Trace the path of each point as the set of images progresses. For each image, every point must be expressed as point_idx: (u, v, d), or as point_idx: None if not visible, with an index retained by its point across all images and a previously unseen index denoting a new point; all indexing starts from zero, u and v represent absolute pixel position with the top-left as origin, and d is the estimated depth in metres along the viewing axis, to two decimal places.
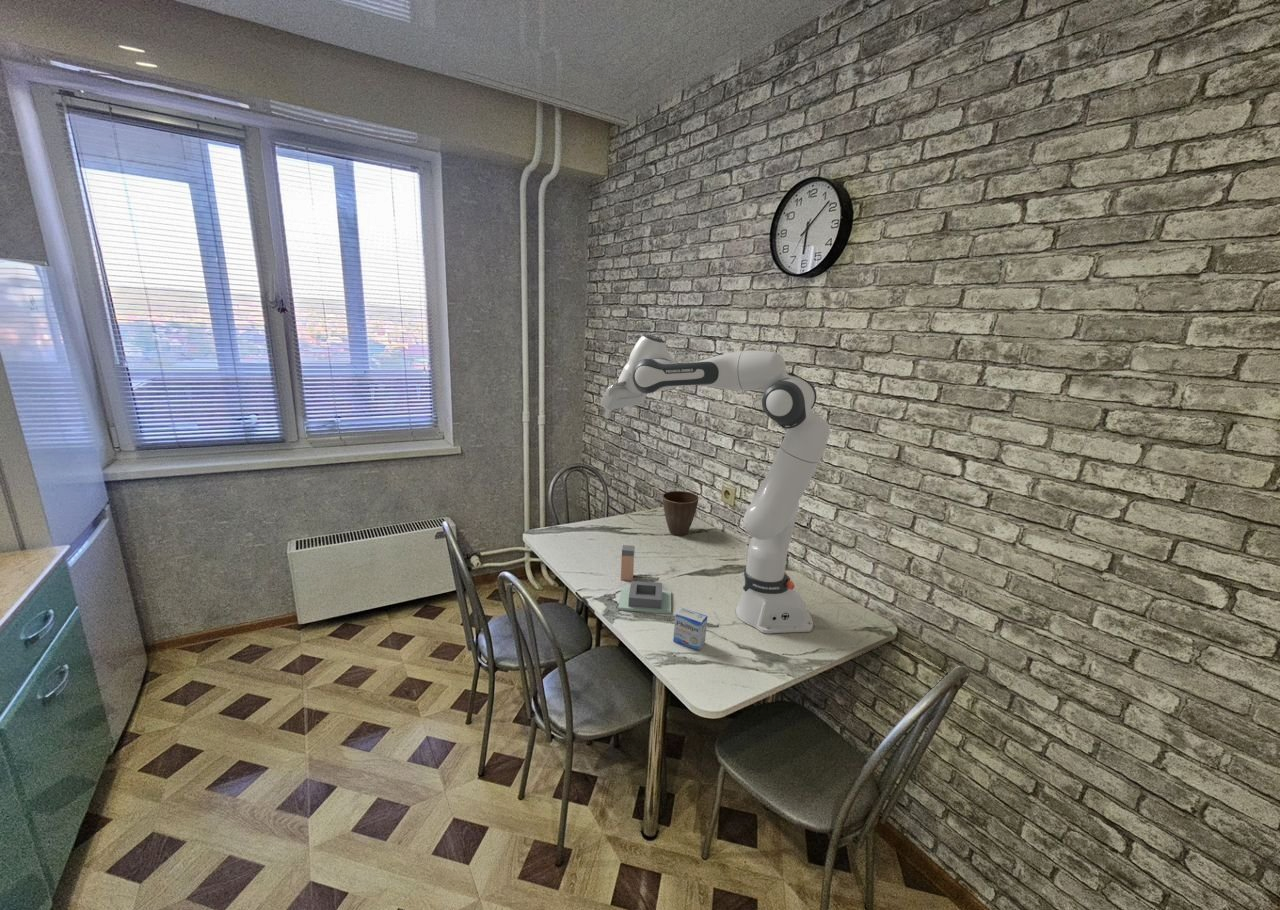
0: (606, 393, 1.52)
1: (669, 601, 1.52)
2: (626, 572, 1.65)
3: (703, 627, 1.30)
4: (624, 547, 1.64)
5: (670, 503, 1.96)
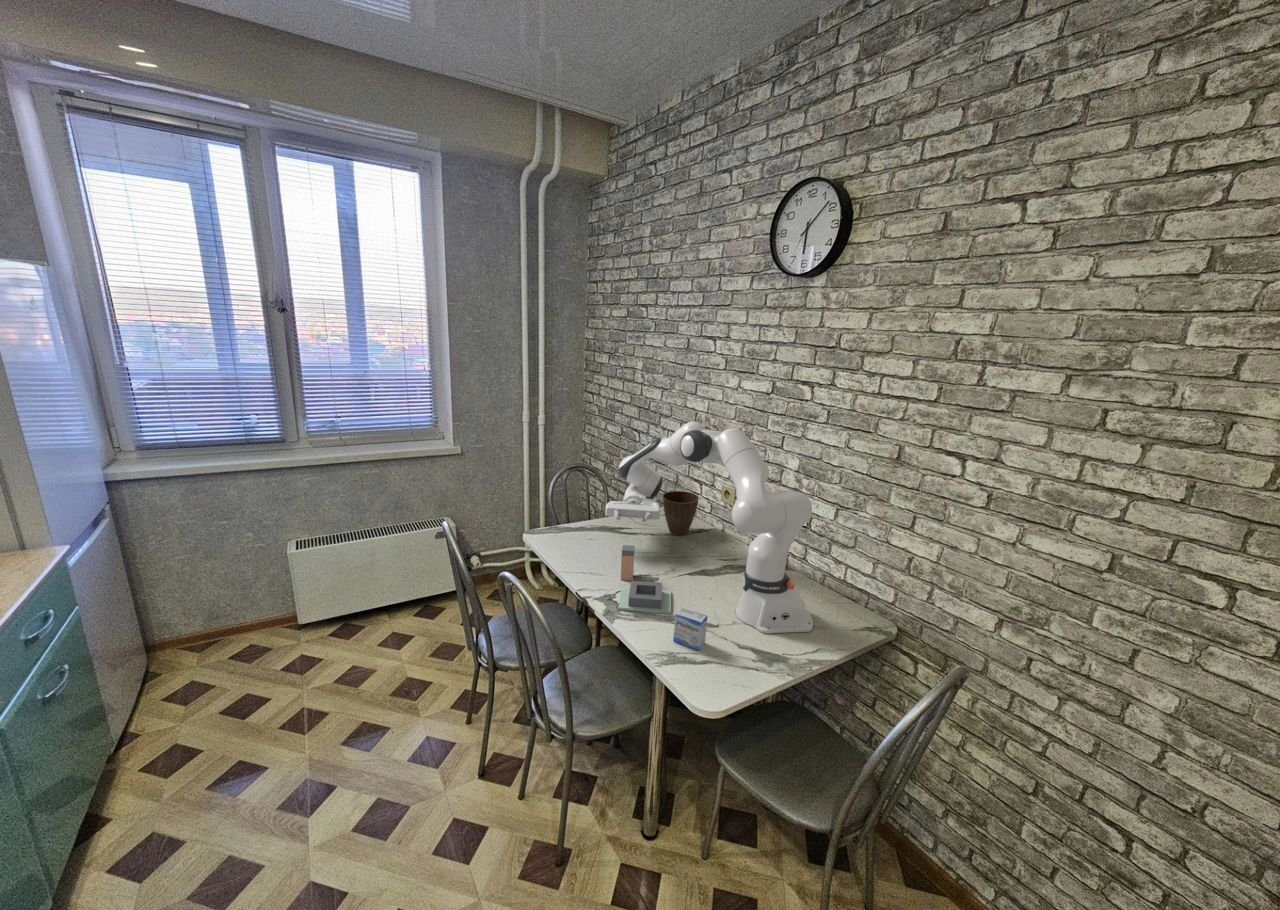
0: None
1: (669, 601, 1.52)
2: (626, 572, 1.65)
3: (703, 627, 1.30)
4: (624, 547, 1.64)
5: (670, 503, 1.96)
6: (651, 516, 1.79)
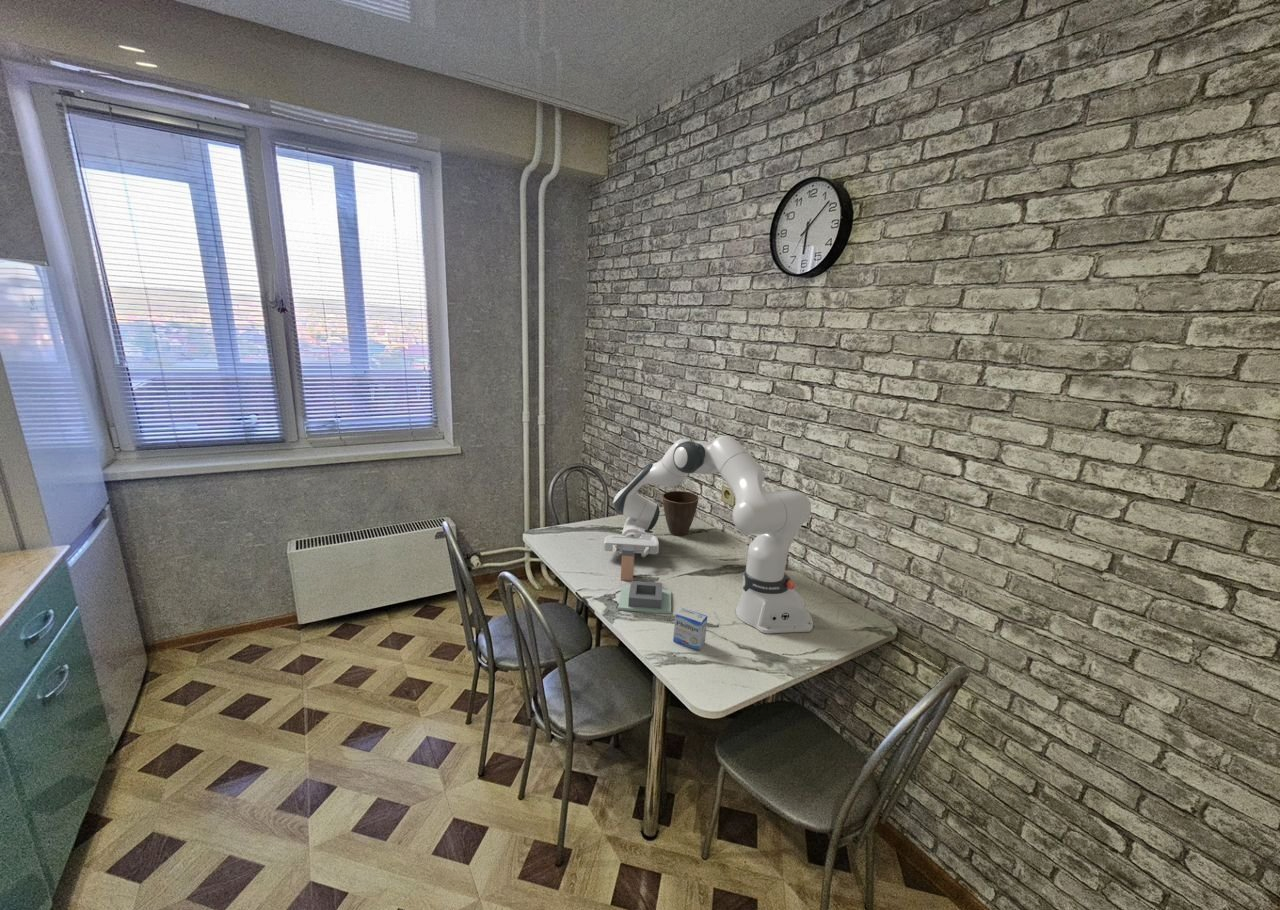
0: None
1: (669, 601, 1.52)
2: (626, 572, 1.65)
3: (703, 627, 1.30)
4: (624, 547, 1.64)
5: (670, 503, 1.96)
6: (650, 551, 1.76)
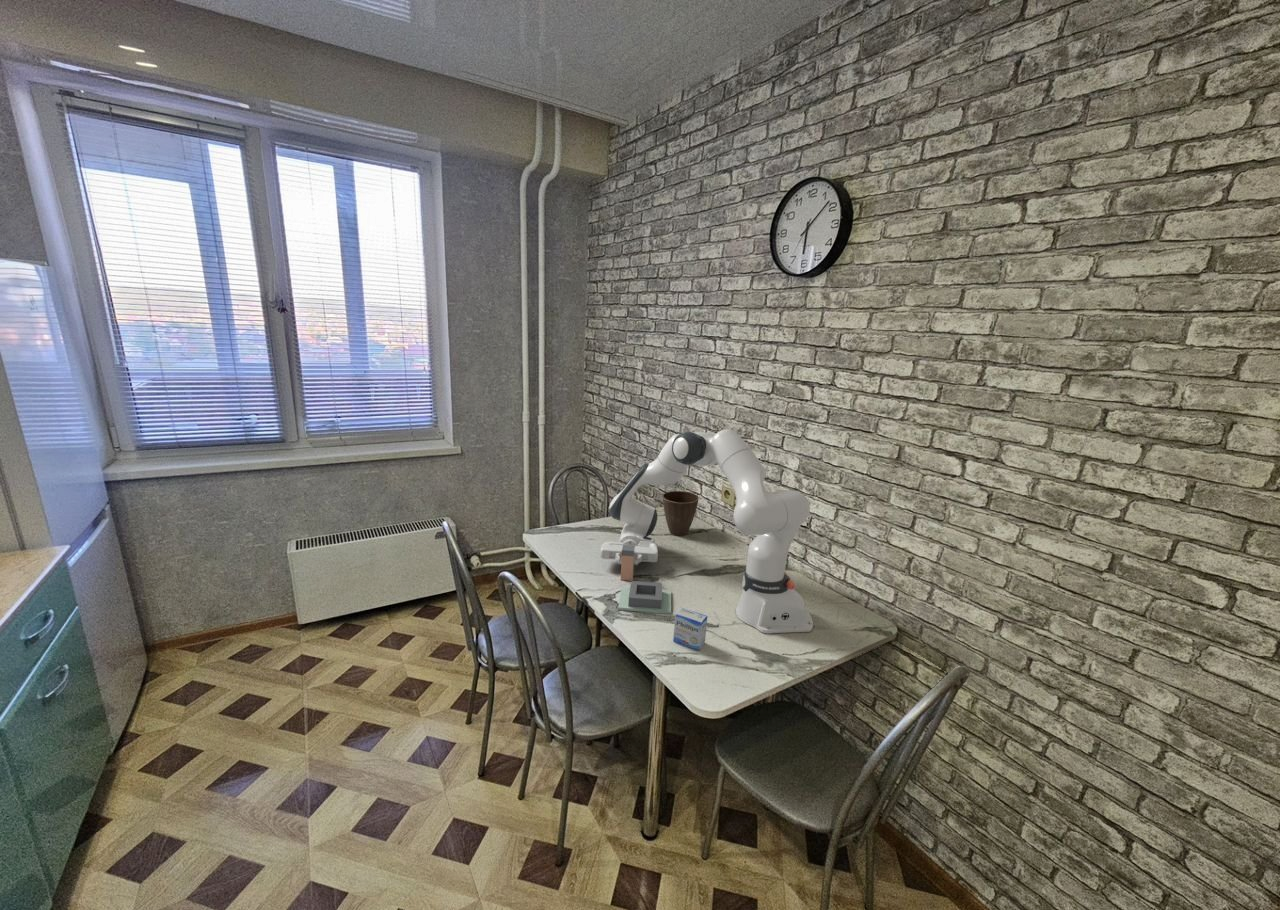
0: None
1: (669, 601, 1.52)
2: (626, 572, 1.65)
3: (703, 627, 1.30)
4: (624, 547, 1.64)
5: (670, 503, 1.96)
6: (649, 559, 1.69)
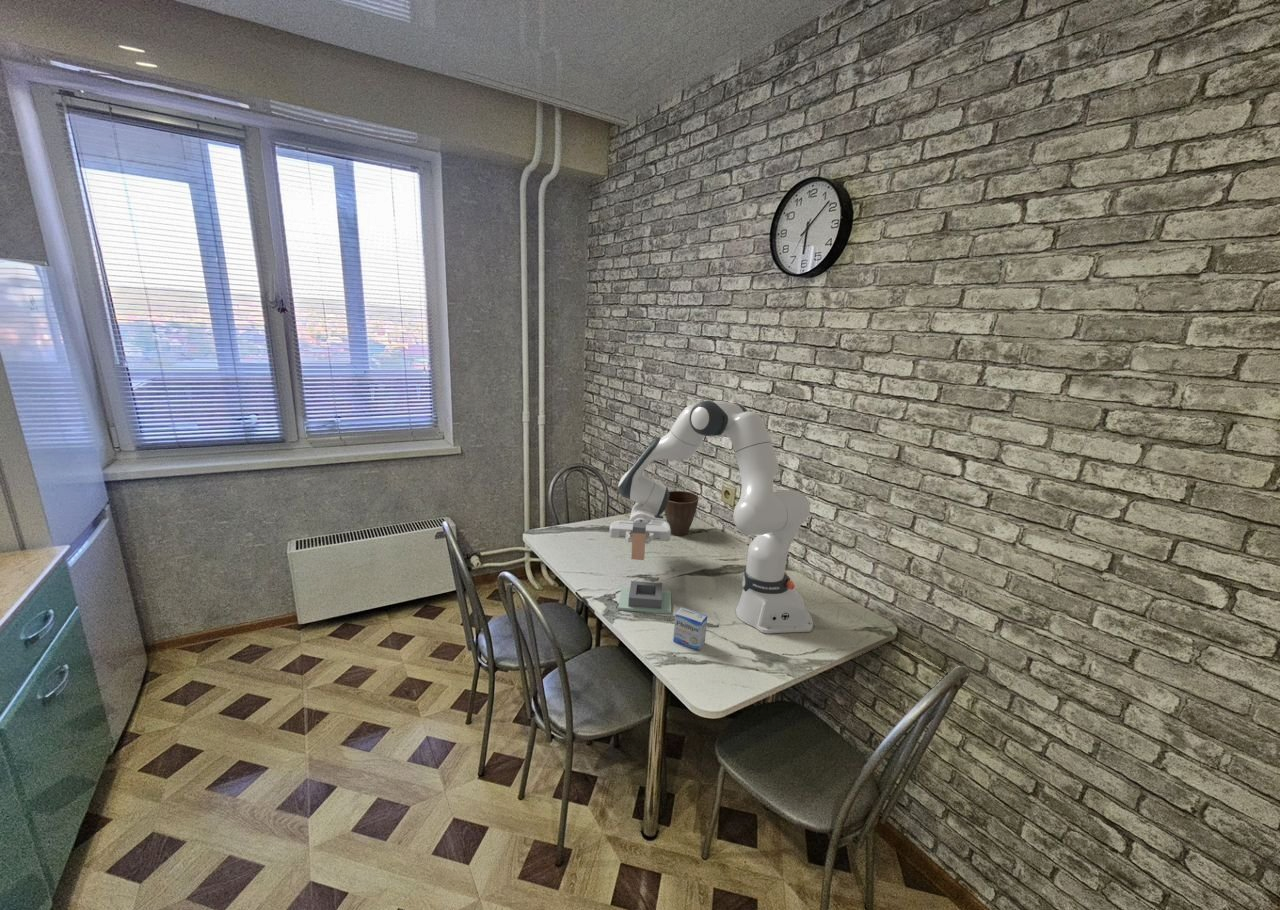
0: None
1: (669, 601, 1.52)
2: (637, 551, 1.55)
3: (703, 627, 1.30)
4: (635, 525, 1.54)
5: (670, 503, 1.96)
6: (661, 537, 1.59)
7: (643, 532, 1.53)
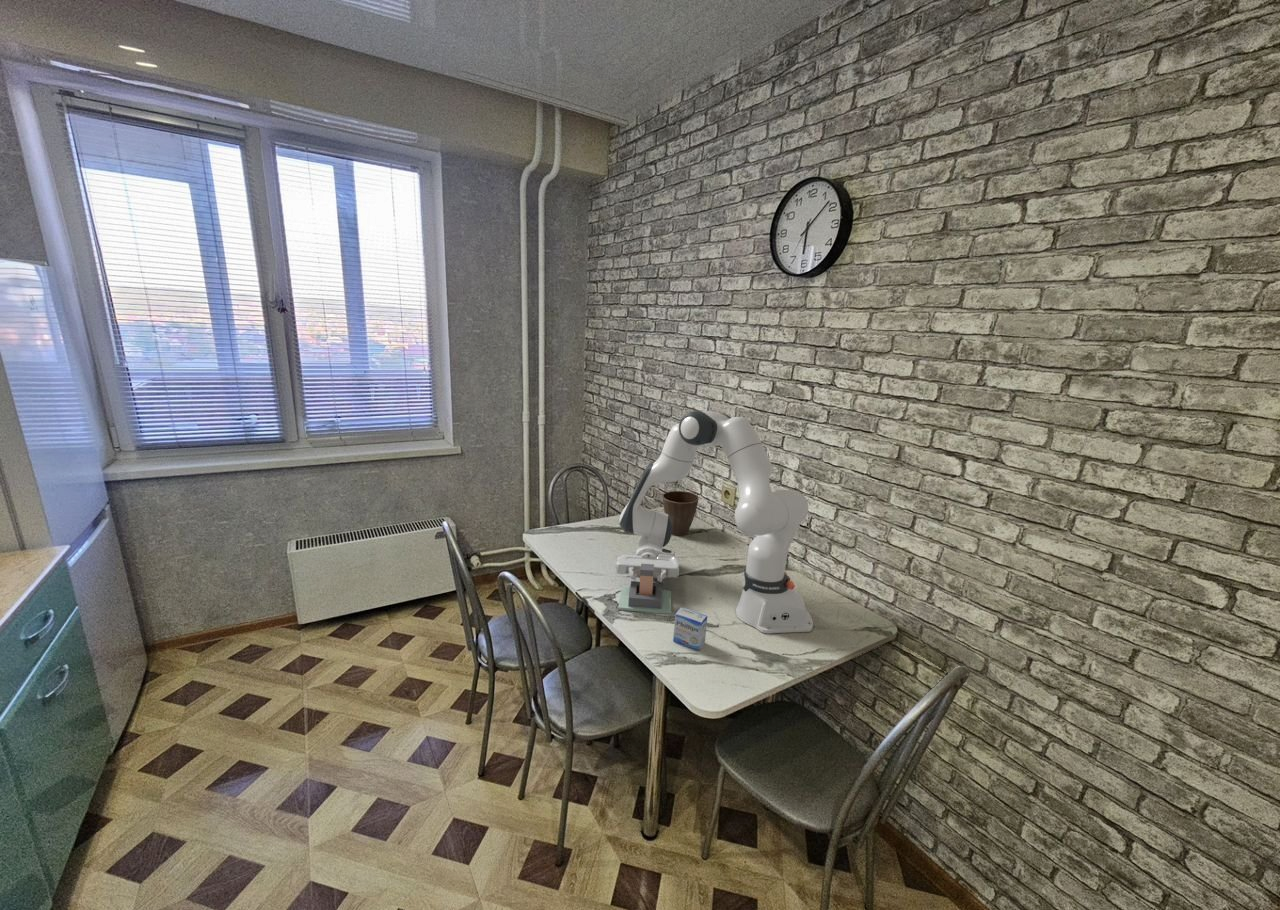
0: None
1: (669, 601, 1.52)
2: (645, 594, 1.50)
3: (703, 627, 1.30)
4: (642, 566, 1.50)
5: (670, 503, 1.96)
6: (669, 574, 1.55)
7: (651, 575, 1.49)
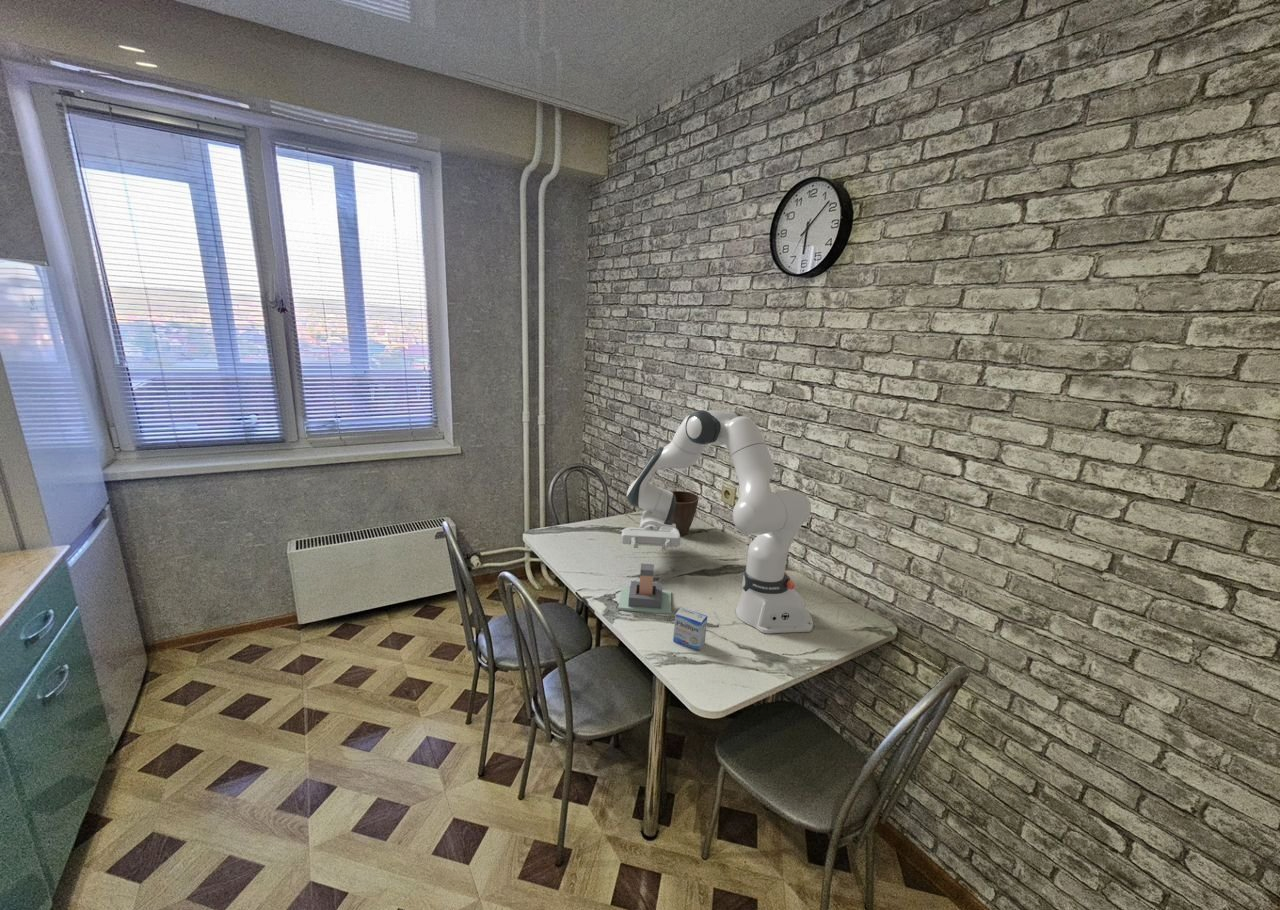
0: None
1: (669, 601, 1.52)
2: (645, 594, 1.50)
3: (703, 627, 1.30)
4: (642, 566, 1.50)
5: None
6: (671, 543, 1.66)
7: (651, 575, 1.49)
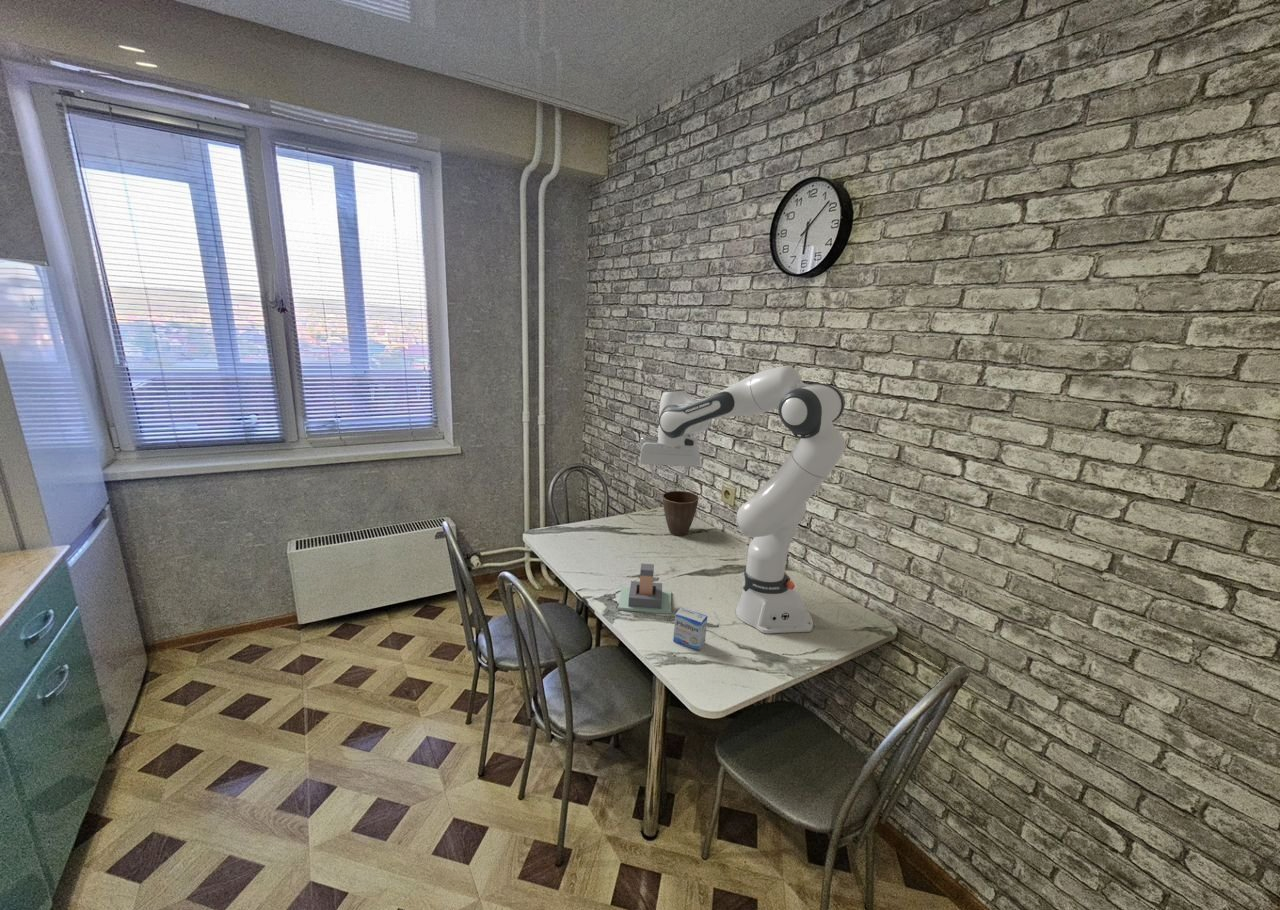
0: None
1: (669, 601, 1.52)
2: (645, 594, 1.50)
3: (703, 627, 1.30)
4: (642, 566, 1.50)
5: (670, 503, 1.96)
6: None
7: (651, 575, 1.49)
